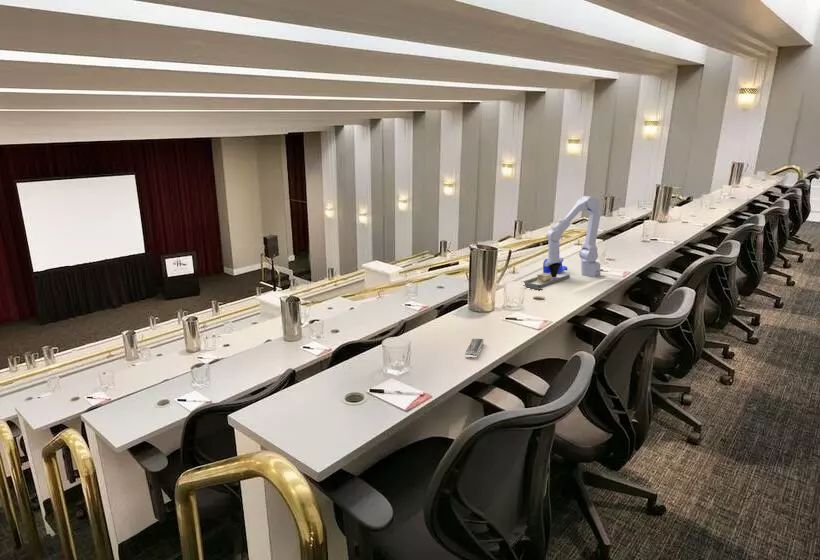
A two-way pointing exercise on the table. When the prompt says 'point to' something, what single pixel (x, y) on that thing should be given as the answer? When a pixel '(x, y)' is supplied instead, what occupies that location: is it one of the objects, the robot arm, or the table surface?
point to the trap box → (553, 280)
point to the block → (543, 277)
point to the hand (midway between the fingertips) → (554, 276)
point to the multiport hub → (474, 347)
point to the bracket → (547, 270)
